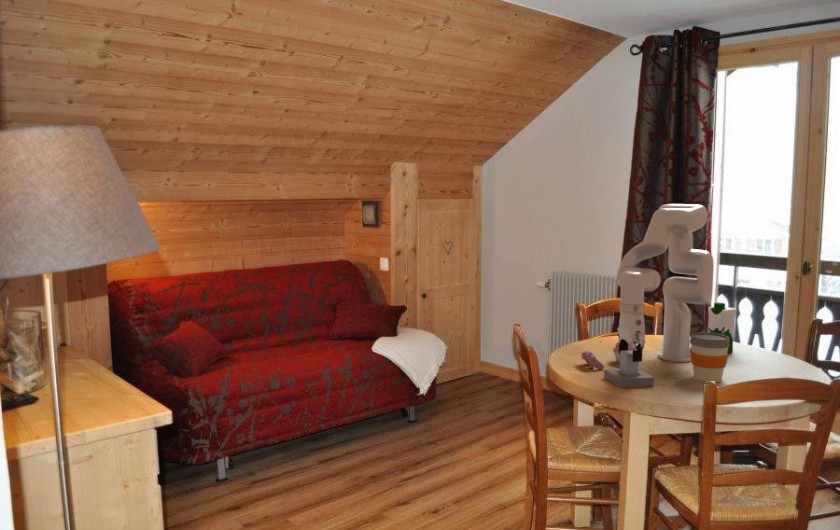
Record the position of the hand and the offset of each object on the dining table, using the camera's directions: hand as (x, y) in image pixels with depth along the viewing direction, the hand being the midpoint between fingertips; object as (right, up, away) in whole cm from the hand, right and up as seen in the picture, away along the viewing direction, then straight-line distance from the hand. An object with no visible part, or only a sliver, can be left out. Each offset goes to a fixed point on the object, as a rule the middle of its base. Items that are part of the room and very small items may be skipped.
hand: (630, 357), depth 232 cm
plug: (0, -8, +1) cm, 8 cm away
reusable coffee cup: (+28, -8, +5) cm, 30 cm away
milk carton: (+49, -4, +42) cm, 65 cm away
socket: (0, -8, +1) cm, 8 cm away
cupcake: (+6, -6, +26) cm, 27 cm away
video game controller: (-8, -6, +19) cm, 22 cm away
